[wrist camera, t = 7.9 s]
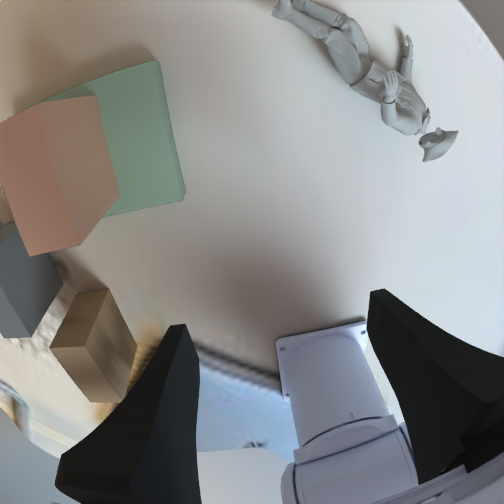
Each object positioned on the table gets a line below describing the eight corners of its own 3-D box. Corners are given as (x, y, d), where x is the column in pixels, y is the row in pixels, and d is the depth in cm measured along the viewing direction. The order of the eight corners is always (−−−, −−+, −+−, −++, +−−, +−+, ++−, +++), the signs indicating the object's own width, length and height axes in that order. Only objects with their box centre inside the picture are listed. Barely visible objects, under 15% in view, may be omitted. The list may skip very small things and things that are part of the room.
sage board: (185, 191, 18) (182, 200, 17) (51, 223, 18) (42, 233, 17) (159, 62, 14) (153, 60, 13) (20, 115, 14) (7, 119, 13)
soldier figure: (326, -26, 13) (482, 89, 13) (299, 27, 17) (438, 129, 18) (265, -11, 10) (488, 154, 10) (237, 64, 14) (423, 200, 15)
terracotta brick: (120, 195, 17) (80, 245, 11) (78, 206, 17) (29, 256, 11) (96, 94, 14) (38, 103, 8) (52, 112, 14) (-13, 130, 8)
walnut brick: (137, 345, 24) (123, 402, 19) (107, 347, 24) (90, 402, 19) (109, 288, 21) (84, 346, 16) (77, 293, 21) (49, 348, 16)
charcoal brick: (62, 284, 21) (31, 337, 16) (36, 288, 21) (4, 338, 16) (32, 214, 18) (-14, 257, 13) (6, 223, 18) (-38, 265, 13)
